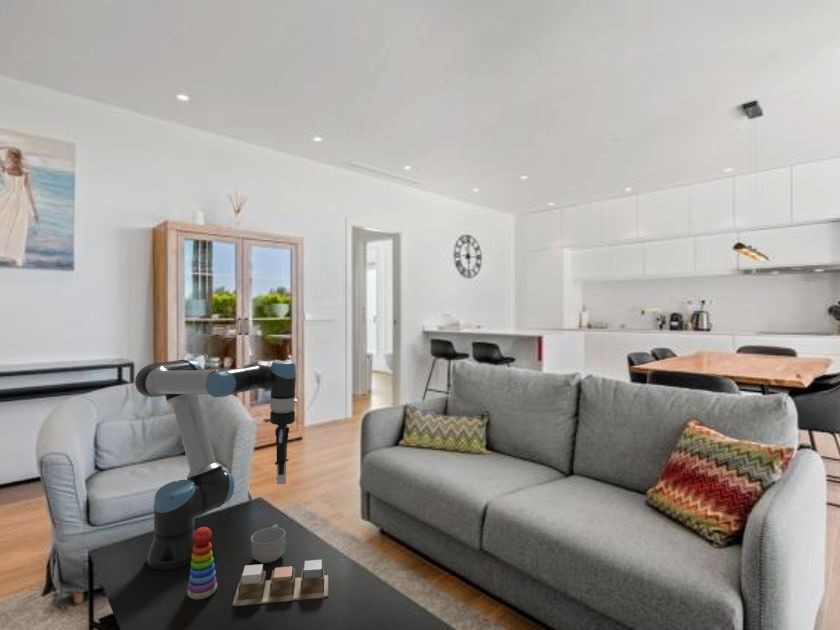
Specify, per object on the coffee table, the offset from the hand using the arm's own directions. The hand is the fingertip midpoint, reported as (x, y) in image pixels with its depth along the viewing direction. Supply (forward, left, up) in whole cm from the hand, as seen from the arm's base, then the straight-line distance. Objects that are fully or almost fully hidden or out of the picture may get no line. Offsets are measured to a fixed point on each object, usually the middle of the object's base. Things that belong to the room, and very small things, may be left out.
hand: (281, 483), depth 151 cm
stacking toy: (-6, -23, -27) cm, 35 cm away
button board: (+12, -9, -26) cm, 30 cm away
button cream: (+6, -15, -23) cm, 28 cm away
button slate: (+18, -3, -23) cm, 29 cm away
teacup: (-6, +1, -27) cm, 27 cm away
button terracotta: (+12, -9, -25) cm, 29 cm away
